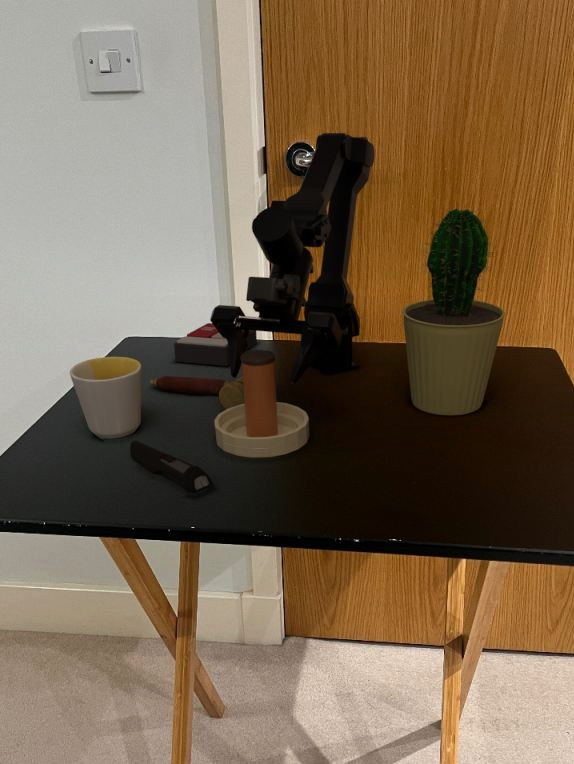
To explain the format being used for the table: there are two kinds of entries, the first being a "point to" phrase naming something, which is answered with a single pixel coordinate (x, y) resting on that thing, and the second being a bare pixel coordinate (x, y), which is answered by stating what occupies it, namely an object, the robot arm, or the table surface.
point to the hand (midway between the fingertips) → (262, 379)
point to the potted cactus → (453, 322)
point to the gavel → (205, 388)
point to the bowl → (237, 443)
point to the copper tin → (260, 393)
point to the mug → (109, 394)
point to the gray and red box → (207, 346)
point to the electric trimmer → (170, 467)
